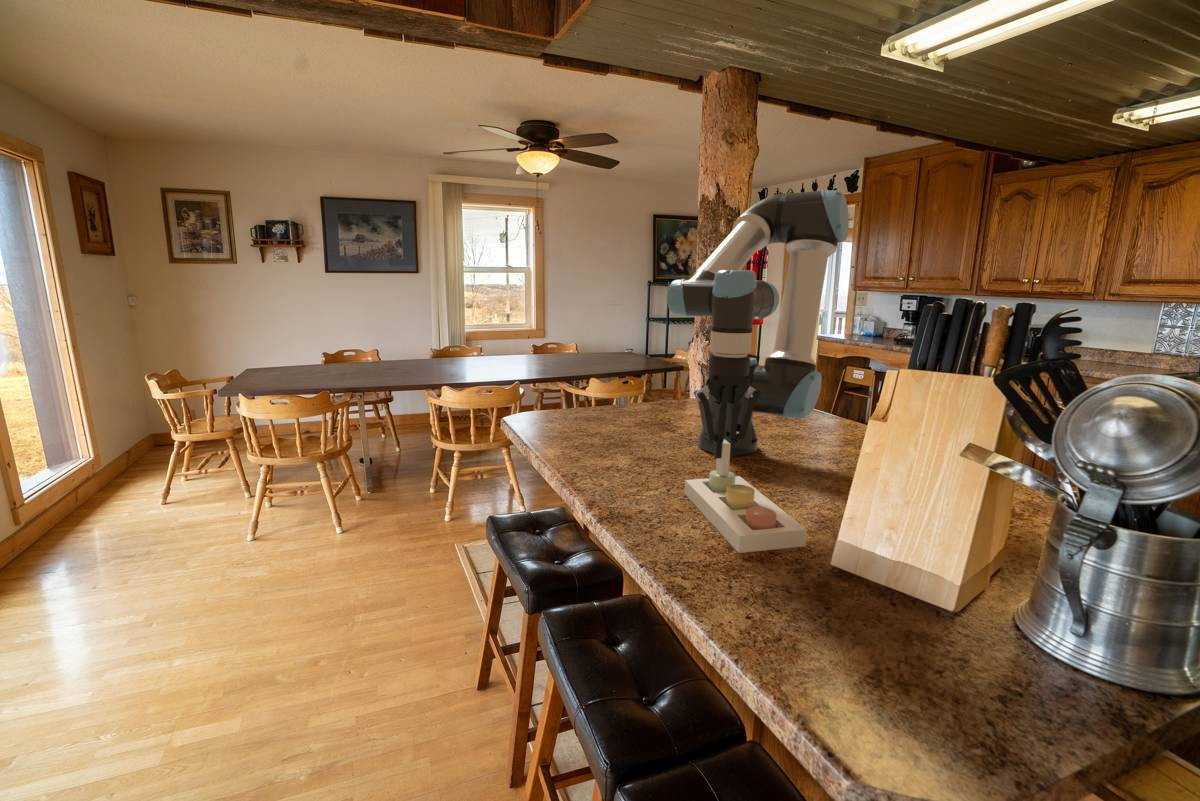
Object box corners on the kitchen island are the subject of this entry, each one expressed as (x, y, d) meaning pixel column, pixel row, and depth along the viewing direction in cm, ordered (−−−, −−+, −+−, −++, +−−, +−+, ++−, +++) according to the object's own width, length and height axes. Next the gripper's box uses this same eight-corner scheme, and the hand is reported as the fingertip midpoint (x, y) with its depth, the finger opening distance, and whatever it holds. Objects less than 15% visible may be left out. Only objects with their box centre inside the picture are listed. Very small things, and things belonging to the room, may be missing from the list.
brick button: (766, 521, 98) (767, 505, 97) (780, 534, 93) (782, 517, 93) (739, 523, 97) (741, 507, 96) (753, 536, 92) (754, 520, 92)
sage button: (727, 483, 113) (728, 469, 112) (738, 492, 108) (739, 477, 108) (704, 484, 112) (705, 470, 111) (714, 494, 107) (715, 479, 107)
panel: (738, 489, 116) (739, 476, 116) (805, 546, 92) (807, 529, 92) (684, 493, 114) (685, 479, 113) (738, 553, 90) (739, 536, 89)
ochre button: (745, 498, 105) (746, 483, 105) (758, 509, 101) (759, 493, 100) (721, 500, 104) (722, 485, 104) (732, 511, 100) (733, 495, 99)
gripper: (752, 351, 109) (744, 465, 114) (689, 352, 106) (684, 468, 111) (771, 356, 102) (761, 477, 107) (705, 357, 99) (698, 482, 104)
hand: (722, 473), depth 109 cm, fingers closed
